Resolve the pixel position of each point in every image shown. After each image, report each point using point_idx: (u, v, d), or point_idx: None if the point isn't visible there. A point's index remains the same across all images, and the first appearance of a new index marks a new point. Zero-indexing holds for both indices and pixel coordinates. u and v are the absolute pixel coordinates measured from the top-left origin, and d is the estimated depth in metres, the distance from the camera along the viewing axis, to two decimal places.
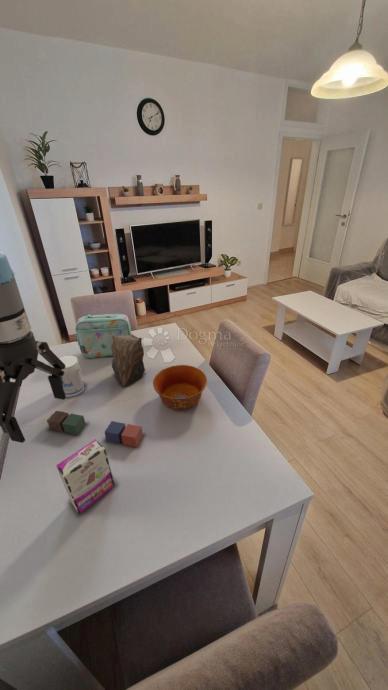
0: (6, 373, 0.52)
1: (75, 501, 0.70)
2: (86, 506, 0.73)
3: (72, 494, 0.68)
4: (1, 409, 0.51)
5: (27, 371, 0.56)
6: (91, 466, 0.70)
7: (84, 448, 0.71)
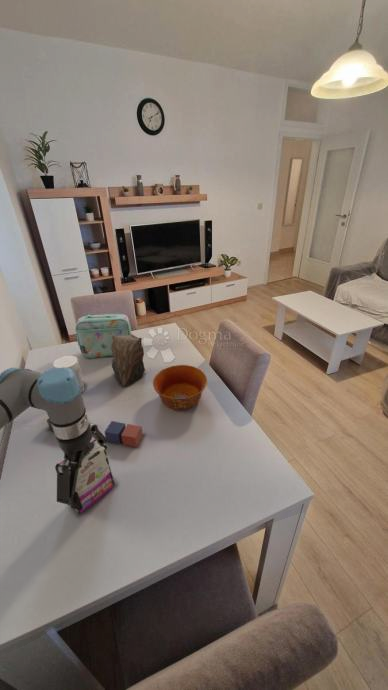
0: (70, 460, 0.64)
1: None
2: (86, 506, 0.73)
3: None
4: (68, 490, 0.63)
5: (83, 453, 0.68)
6: (91, 465, 0.70)
7: None
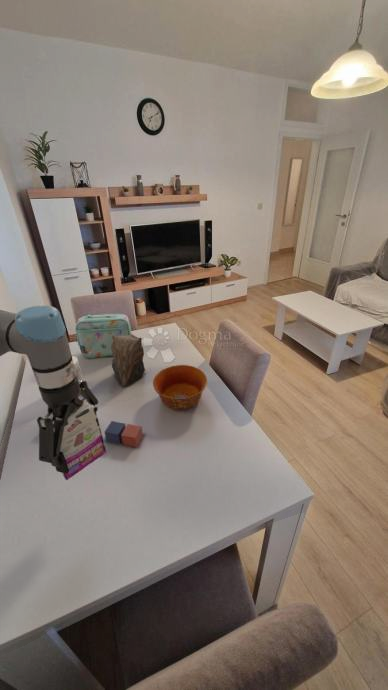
0: (54, 414, 0.57)
1: None
2: (74, 471, 0.67)
3: None
4: (52, 447, 0.57)
5: (70, 409, 0.61)
6: (79, 424, 0.63)
7: None
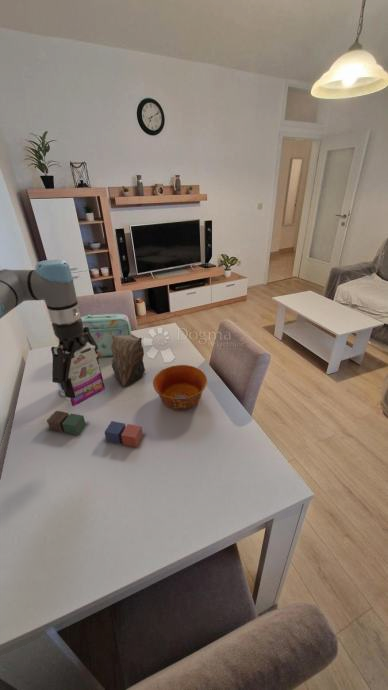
0: (64, 346, 0.74)
1: None
2: (79, 400, 0.83)
3: None
4: (62, 371, 0.73)
5: (76, 346, 0.78)
6: (83, 359, 0.80)
7: None
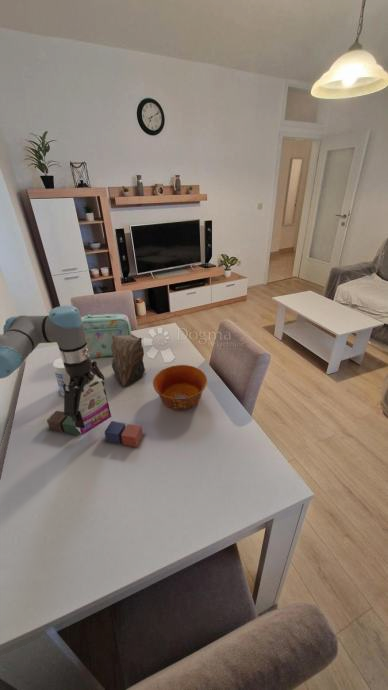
0: (74, 383, 0.80)
1: None
2: (87, 428, 0.90)
3: None
4: (73, 406, 0.80)
5: (85, 381, 0.84)
6: (91, 392, 0.86)
7: None
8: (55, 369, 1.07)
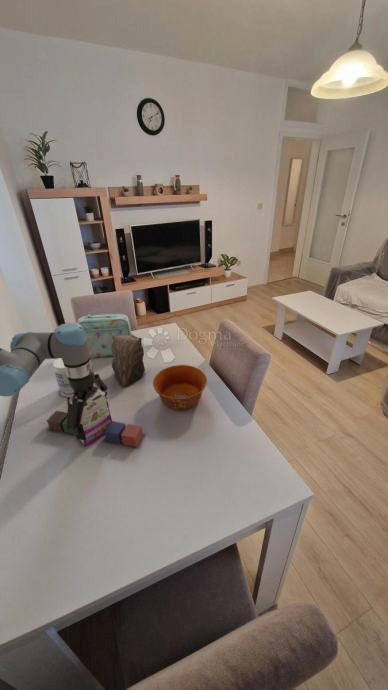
0: (78, 396, 0.83)
1: None
2: (90, 440, 0.92)
3: None
4: (76, 419, 0.82)
5: (88, 394, 0.87)
6: (95, 405, 0.89)
7: None
8: (55, 369, 1.07)
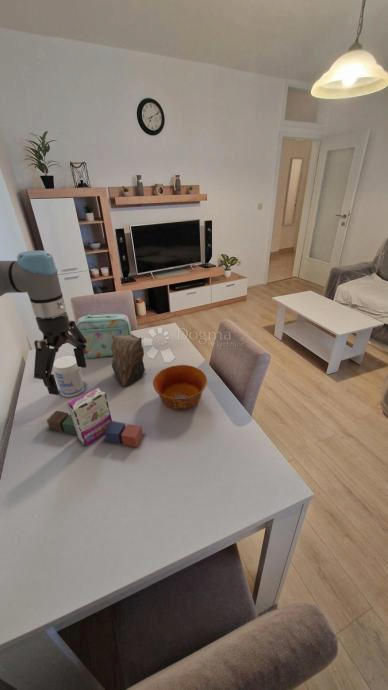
0: (48, 341, 0.71)
1: (82, 433, 0.89)
2: (90, 440, 0.92)
3: (80, 427, 0.87)
4: (45, 367, 0.70)
5: (61, 341, 0.75)
6: (95, 405, 0.89)
7: (89, 393, 0.90)
8: (55, 369, 1.07)
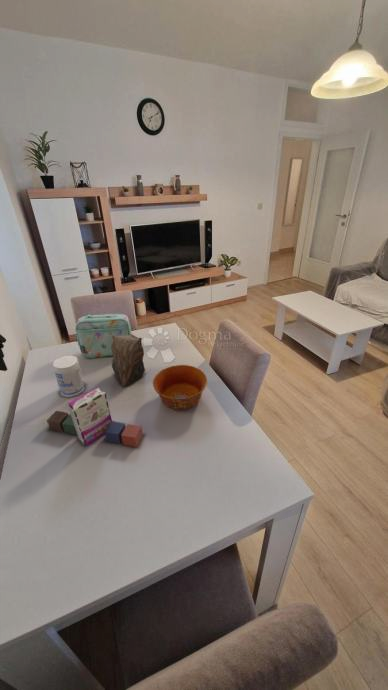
0: None
1: (82, 433, 0.89)
2: (90, 440, 0.92)
3: (80, 427, 0.87)
4: None
5: None
6: (95, 405, 0.89)
7: (89, 393, 0.90)
8: (55, 369, 1.07)
